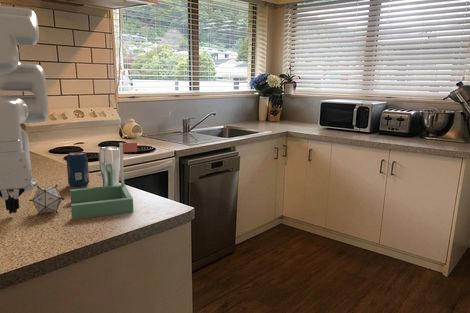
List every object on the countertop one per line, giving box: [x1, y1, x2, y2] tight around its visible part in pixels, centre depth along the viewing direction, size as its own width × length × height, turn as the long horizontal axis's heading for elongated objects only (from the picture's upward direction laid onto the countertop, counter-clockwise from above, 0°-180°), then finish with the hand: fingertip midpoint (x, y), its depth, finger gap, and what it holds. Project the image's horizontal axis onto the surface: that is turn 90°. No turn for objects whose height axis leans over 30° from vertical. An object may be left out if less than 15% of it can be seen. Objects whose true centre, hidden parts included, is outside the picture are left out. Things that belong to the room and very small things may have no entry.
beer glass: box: [98, 146, 121, 187], centre depth 125 cm, size 7×7×15 cm
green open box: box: [69, 141, 138, 220], centre depth 110 cm, size 21×16×18 cm
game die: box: [28, 184, 65, 216], centre depth 104 cm, size 9×8×10 cm
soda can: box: [66, 151, 90, 189], centre depth 130 cm, size 7×7×12 cm
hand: (13, 211), depth 101 cm, fingers closed
